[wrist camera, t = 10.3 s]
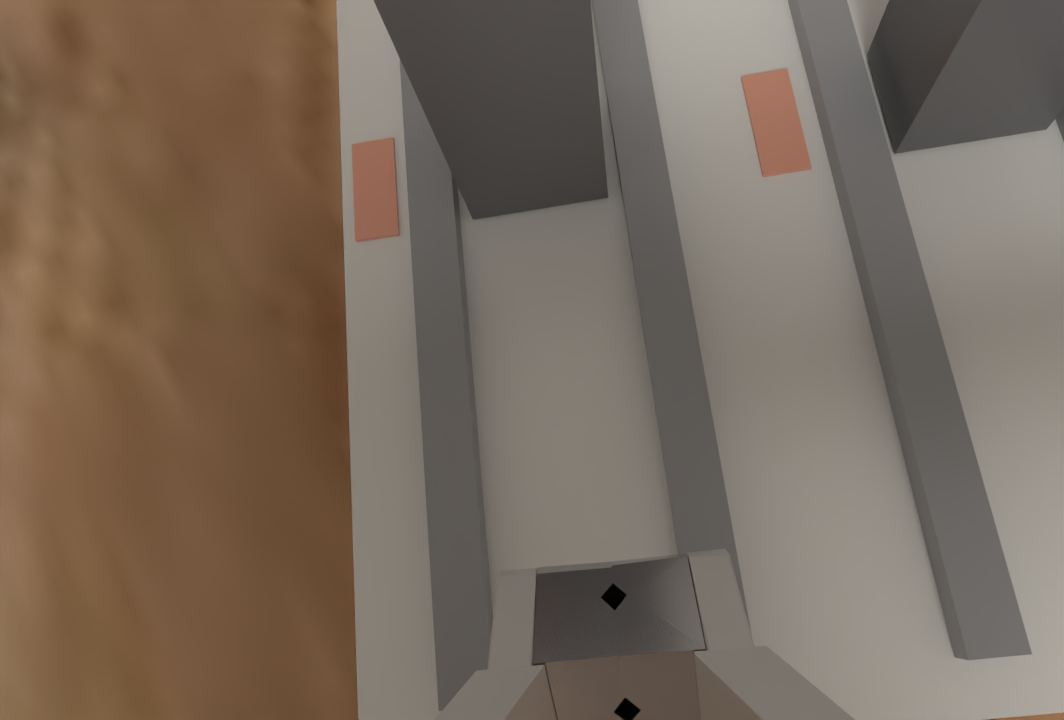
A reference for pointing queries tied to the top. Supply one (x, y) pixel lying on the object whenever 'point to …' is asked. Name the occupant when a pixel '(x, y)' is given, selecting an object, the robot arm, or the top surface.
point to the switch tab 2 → (968, 69)
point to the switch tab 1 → (507, 97)
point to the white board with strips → (715, 366)
